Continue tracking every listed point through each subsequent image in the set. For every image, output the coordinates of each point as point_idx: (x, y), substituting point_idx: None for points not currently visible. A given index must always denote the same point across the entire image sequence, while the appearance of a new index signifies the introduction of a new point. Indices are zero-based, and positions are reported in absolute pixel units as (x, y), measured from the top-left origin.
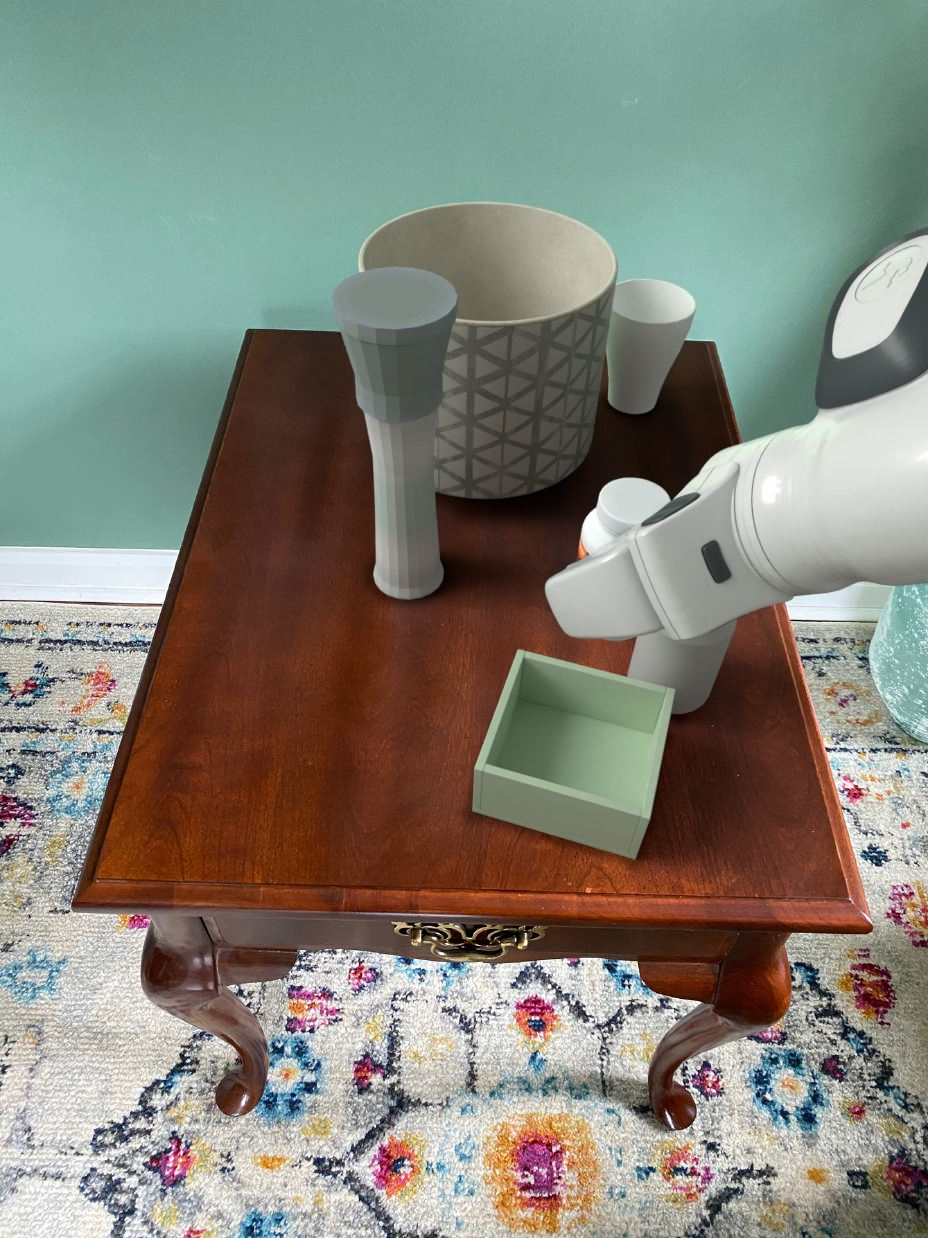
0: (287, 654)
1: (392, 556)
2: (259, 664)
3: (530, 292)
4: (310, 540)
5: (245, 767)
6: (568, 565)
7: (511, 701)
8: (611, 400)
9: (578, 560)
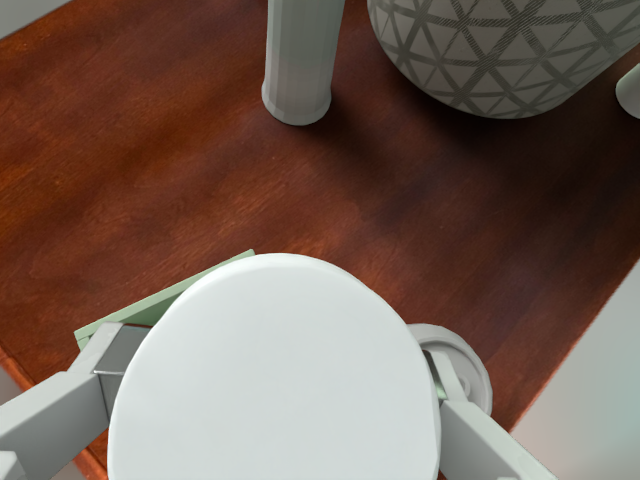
0: (141, 82)
1: (268, 65)
2: (114, 72)
3: None
4: (260, 6)
5: (13, 144)
6: (103, 325)
7: None
8: (620, 83)
9: (129, 335)
